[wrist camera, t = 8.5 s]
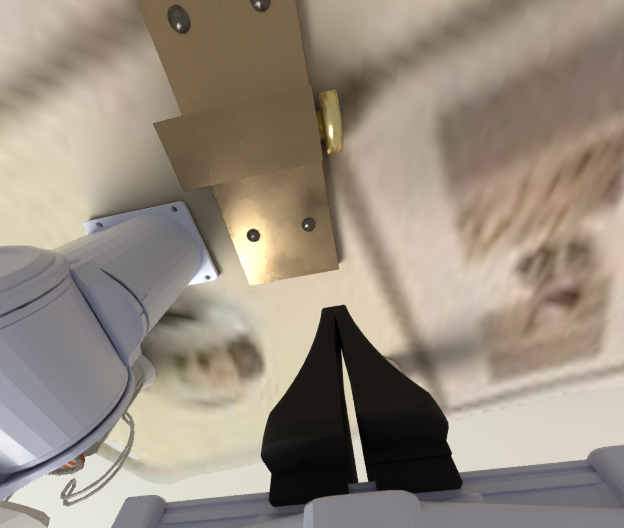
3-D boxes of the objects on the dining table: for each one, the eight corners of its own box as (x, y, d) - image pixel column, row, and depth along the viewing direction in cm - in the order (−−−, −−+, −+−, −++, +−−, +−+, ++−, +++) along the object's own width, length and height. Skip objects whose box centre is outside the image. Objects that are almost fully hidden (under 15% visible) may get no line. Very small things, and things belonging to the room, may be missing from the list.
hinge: (246, 280, 24) (236, 305, 20) (99, -86, 12) (15, -177, 9) (337, 264, 23) (343, 286, 19) (271, -143, 11) (255, -267, 8)
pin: (212, 178, 19) (193, 185, 15) (193, 127, 17) (166, 125, 14) (338, 150, 18) (345, 152, 15) (331, 94, 16) (337, 83, 13)
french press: (70, 332, 27) (-1014, 1213, 5) (173, 355, 29) (-251, 1035, 7) (78, 381, 31) (-469, 960, 9) (167, 398, 33) (-104, 898, 11)
